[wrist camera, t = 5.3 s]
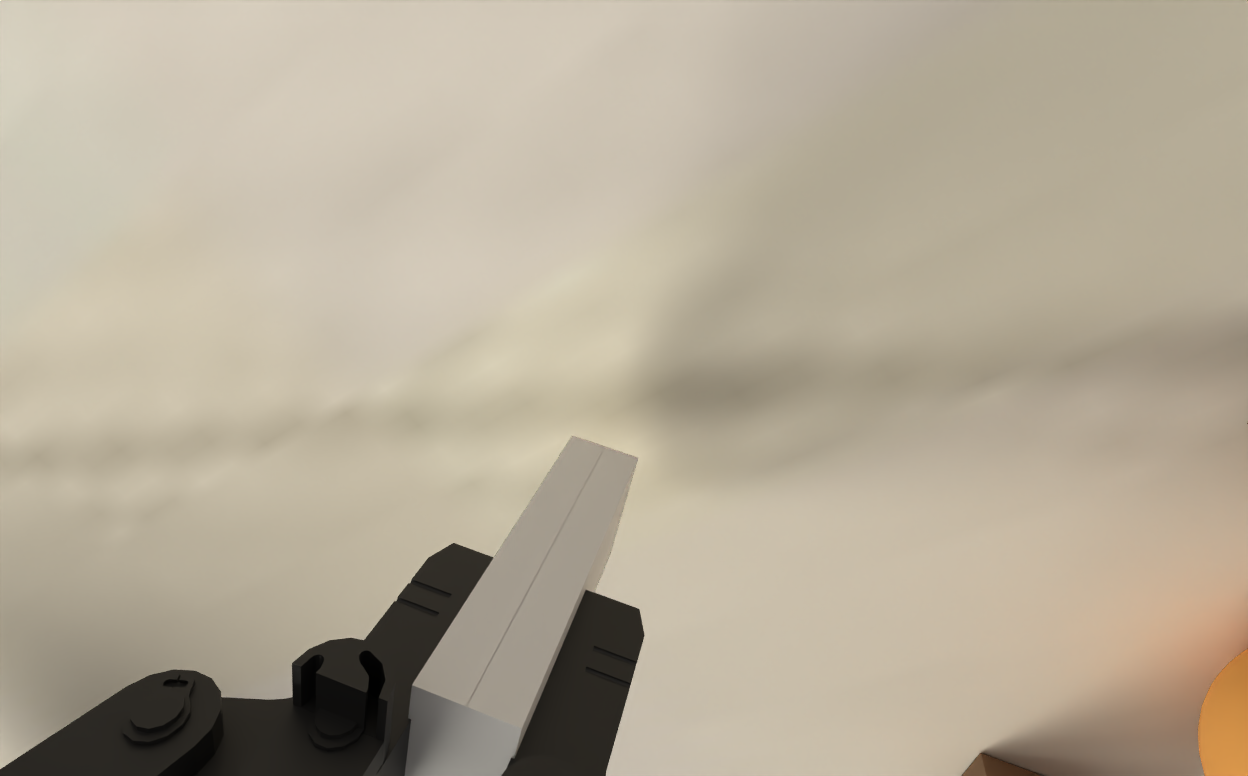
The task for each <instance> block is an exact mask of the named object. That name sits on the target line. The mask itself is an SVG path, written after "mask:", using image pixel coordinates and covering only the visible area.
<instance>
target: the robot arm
mask: <svg viewBox="0 0 1248 776" xmlns="http://www.w3.org/2000/svg"><path fill="white" fill-rule="evenodd" d="M637 461H638V458H637V457H634V456H631V455H628V454H625V453H623V452H620V451H617V450H614V449H611V448H608V447H605V446H602V445H599V444H596V443H593V442H590V441H587V440H584V439H581V438H578V437H575V436H572V437H571V438H570V440H569V441H568V443H567V445H566V446H565V448H564V449H563V451H562V452H561V454H560V455H559V457H558V459H557V460H556V462H555V463H554V465H553V466H552V468H551V469H550V471H549V473H548V474H547V476H546V477H545V479H544V480H543V482H542V483H541V485H540V487H539V488H538V490H537V491H536V493H535V494H534V496H533V497H532V499H531V501H530V502H529V504H528V505H527V507H526V508H525V510H524V511H523V513H522V515H521V516H520V518H519V519H518V521H517V522H516V524H515V525H514V527H513V529H512V530H511V532H510V533H509V535H508V536H507V538H506V539H505V541H504V543H503V544H502V546H501V547H500V549H499V550H498V552H497V553H496V555H495V557H494V558H493V557H490V556H488V555H485V554H482V553H479V552H477V551H474V550H471V549H469V548H466V547H463V546H460V545H458V544H455V543H453V544H451V545H449V546H448V547H446V548H444V549H442V550H441V551H439V552H437V553H436V554H434V555H432V556H431V557H429V558H428V559H427V560H426V562H425V563H424V564H423V565H422V567H421V568H420V569H419V571H418V572H417V573H416V574H415V576H414V577H413V578H412V581H411V583H410V584H409V583H408V585H407V586H406V587H405V589H404V590H403V591H402V592H401V594H400V595H399V596H398V599H397V601H396V602H395V601H394V603H393V604H392V605H391V607H390V608H389V609H388V610H387V612H386V613H385V614H384V616H383V617H382V618H381V619H380V621H379V622H378V623H377V625H376V626H375V627H374V628H373V630H372V631H371V632H370V633H369V635H368V636H367V637H366V639H365V640H359V639H354V638H346V639H338V640H330V641H327V642H325V643H322V644H320V645H318V646H315V647H313V648H311V649H309V650H307V651H306V652H305V653H304V654H303V655H301V656H300V657H299V658H298V659H297V660H295V661H294V662H293V663H292V683H293V697H292V698H288V699H276V700H262V699H242V698H222V697H221V691H220V690H219V689H218V687H217V686H216V684H215V683H214V681H213V680H212V678H209V677H207V676H205V675H203V674H201V673H199V672H197V671H188V670H170V671H166V672H161V673H157V674H153V675H149V676H147V677H145V678H143V679H141V680H139V681H137V682H135V683H133V684H131V685H129V686H127V687H125V688H124V689H122V690H121V691H119V692H118V693H116V694H115V695H113V696H112V697H110V698H109V699H107V700H105V701H104V702H102V703H101V704H99V705H98V706H96V707H95V708H93V709H92V710H90V711H89V712H87V713H86V714H84V715H83V716H81V717H80V718H78V719H76V720H75V721H73V722H72V723H70V724H69V725H67V726H66V727H64V728H63V729H61V730H60V731H58V732H57V733H55V734H54V735H52V736H51V737H49V738H47V739H46V740H44V741H43V742H41V743H40V744H38V745H37V746H35V747H34V748H32V749H31V750H29V751H28V752H26V753H25V754H23V755H21V756H20V757H18V758H17V759H15V760H14V761H12V762H11V763H9V764H8V765H6V766H5V767H3V768H2V769H0V776H606V770H607V766H608V763H609V759H610V756H611V752H612V748H613V745H614V741H615V738H616V734H617V731H618V727H619V724H620V720H621V717H622V713H623V710H624V706H625V702H626V699H627V695H628V692H629V688H630V685H631V681H632V678H633V674H634V671H635V666H636V663H637V660H638V656H639V653H640V649H641V646H642V642H643V639H644V631H643V626H642V621H641V615H640V610H639V609H637V608H635V607H632V606H629V605H626V604H624V603H621V602H618V601H616V600H613V599H610V598H607V597H605V596H602V595H599V594H596V593H595V590H596V588H597V585H598V583H599V580H600V578H601V575H602V573H603V570H604V568H605V565H606V563H607V560H608V558H609V556H610V553H611V550H612V546H613V543H614V540H615V536H616V533H617V529H618V526H619V522H620V519H621V516H622V512H623V509H624V505H625V502H626V498H627V495H628V492H629V488H630V485H631V481H632V478H633V474H634V471H635V468H636V464H637Z"/></svg>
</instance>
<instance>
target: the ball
mask: <svg viewBox="0 0 1248 776" xmlns="http://www.w3.org/2000/svg"><path fill="white" fill-rule="evenodd" d="M1198 741H1199V754H1200V758H1201V762H1202V766H1203V770H1204V774H1205V776H1248V649H1247V650H1245V651H1243V652H1242V653H1241V654H1239V655H1238V656H1237V657H1235V658H1234V659H1233V660H1232V661H1231V662H1230V663H1229V664H1227V666H1226V667H1225V668H1224V669H1223V670H1222V671H1221V672H1220V673H1219V675H1218V676H1217V677H1216V678H1215V680H1214V681H1213V683H1212V684H1211V686H1210V688H1209V690H1208V693H1207V695H1206V697H1205V700H1204V702H1203V704H1202V708H1201V713H1200V719H1199V726H1198Z"/></svg>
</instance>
